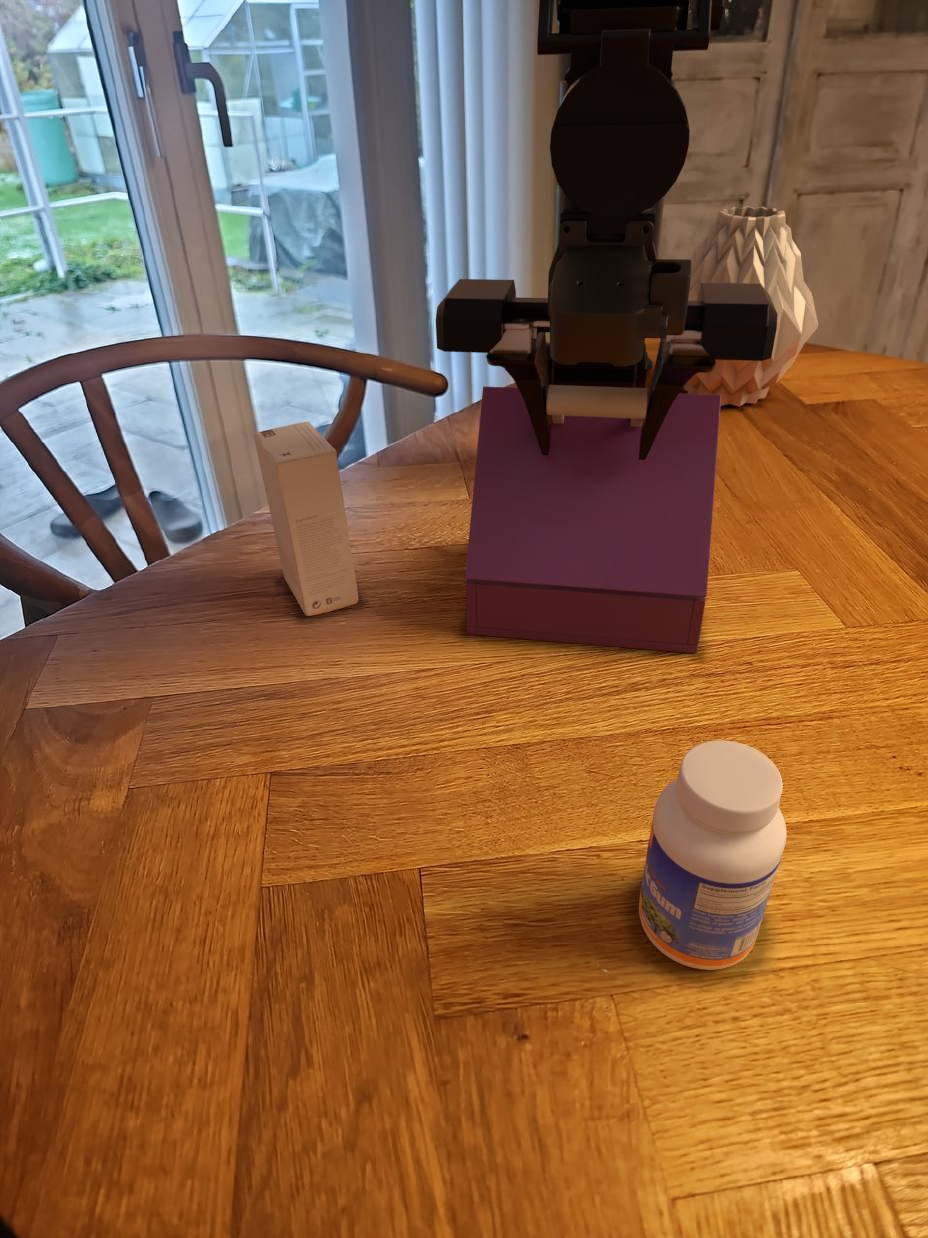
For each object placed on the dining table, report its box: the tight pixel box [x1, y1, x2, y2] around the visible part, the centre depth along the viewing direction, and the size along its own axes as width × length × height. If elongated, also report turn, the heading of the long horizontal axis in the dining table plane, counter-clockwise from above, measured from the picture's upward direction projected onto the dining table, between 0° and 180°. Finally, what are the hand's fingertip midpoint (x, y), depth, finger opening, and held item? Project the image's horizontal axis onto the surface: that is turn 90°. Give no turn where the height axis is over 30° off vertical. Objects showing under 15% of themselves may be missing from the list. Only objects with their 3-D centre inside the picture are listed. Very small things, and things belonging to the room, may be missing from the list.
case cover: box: [464, 385, 722, 598], centre depth 53 cm, size 13×15×5 cm
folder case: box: [465, 580, 706, 654], centre depth 61 cm, size 12×15×4 cm
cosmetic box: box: [253, 421, 359, 617], centre depth 60 cm, size 6×4×12 cm
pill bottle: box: [638, 739, 788, 971], centre depth 37 cm, size 5×5×10 cm
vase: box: [683, 205, 819, 407], centre depth 88 cm, size 16×16×18 cm
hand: (593, 455), depth 54 cm, fingers closed on case cover, 6 cm apart
